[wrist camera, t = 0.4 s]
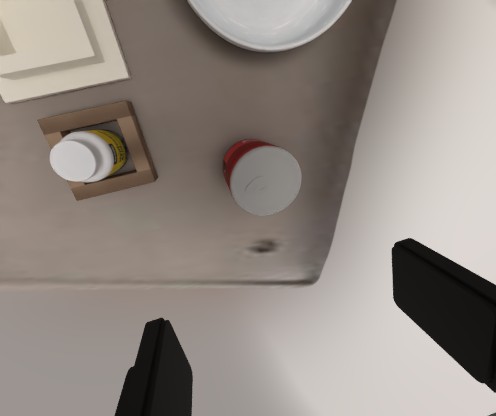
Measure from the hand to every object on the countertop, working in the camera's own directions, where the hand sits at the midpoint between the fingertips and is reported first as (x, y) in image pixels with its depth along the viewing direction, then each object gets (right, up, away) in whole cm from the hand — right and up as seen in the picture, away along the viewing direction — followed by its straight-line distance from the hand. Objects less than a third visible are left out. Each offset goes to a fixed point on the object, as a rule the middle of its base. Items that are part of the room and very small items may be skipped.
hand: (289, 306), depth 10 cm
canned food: (-2, +10, +27) cm, 29 cm away
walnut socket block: (-20, +12, +23) cm, 33 cm away
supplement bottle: (-20, +12, +23) cm, 33 cm away
